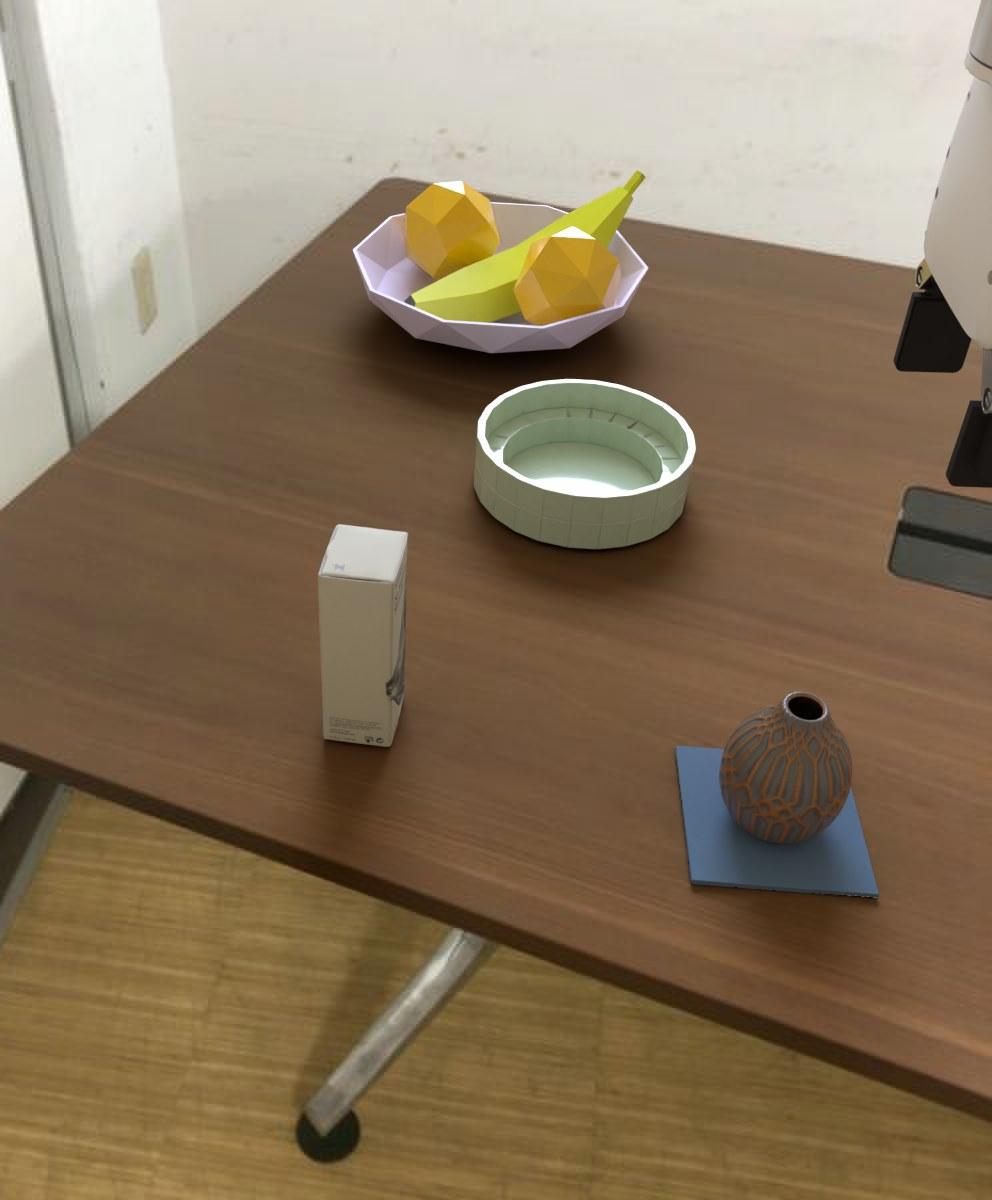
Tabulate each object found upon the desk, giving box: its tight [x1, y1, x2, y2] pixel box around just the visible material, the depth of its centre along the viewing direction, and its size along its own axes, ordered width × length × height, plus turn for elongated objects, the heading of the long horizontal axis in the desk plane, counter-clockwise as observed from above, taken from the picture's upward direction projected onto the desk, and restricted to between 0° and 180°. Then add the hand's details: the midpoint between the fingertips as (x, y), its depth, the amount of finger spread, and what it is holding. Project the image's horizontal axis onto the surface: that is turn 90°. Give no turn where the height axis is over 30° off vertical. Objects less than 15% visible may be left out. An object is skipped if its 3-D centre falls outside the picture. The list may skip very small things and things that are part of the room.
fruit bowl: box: [352, 169, 649, 354], centre depth 114 cm, size 28×27×11 cm
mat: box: [674, 745, 880, 898], centre depth 71 cm, size 10×10×1 cm
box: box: [317, 523, 409, 748], centre depth 73 cm, size 5×4×13 cm
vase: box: [719, 691, 853, 844], centre depth 68 cm, size 7×7×9 cm
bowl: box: [473, 378, 697, 550], centre depth 95 cm, size 16×16×5 cm
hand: (952, 423), depth 58 cm, fingers open, 9 cm apart
